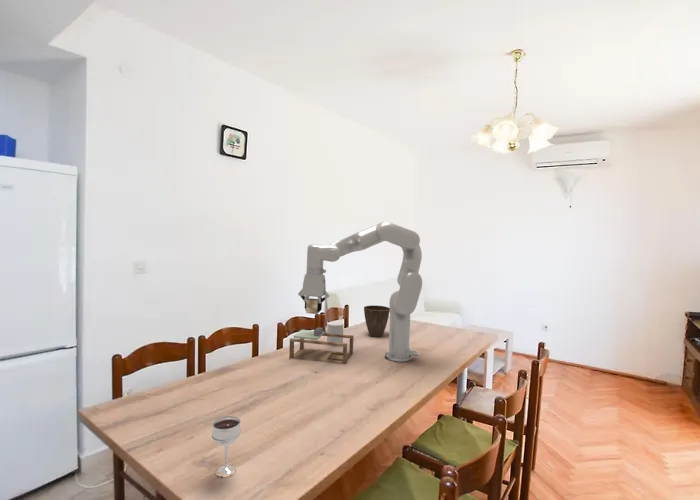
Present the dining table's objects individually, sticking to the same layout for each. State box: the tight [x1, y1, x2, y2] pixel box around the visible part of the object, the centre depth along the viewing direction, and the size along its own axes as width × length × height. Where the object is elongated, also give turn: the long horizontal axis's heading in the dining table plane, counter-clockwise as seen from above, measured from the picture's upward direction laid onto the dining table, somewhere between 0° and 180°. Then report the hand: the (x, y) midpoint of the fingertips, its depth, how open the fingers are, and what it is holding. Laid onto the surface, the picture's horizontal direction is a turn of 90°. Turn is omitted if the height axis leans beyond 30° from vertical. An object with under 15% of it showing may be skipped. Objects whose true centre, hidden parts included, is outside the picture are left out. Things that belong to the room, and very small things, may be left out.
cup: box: [326, 321, 344, 347], centre depth 193 cm, size 8×8×12 cm
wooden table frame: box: [288, 332, 355, 365], centre depth 174 cm, size 26×15×10 cm, turn 78°
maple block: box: [305, 297, 320, 315], centre depth 174 cm, size 5×5×6 cm
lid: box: [293, 327, 325, 341], centre depth 175 cm, size 11×11×4 cm
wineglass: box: [211, 415, 242, 474], centre depth 91 cm, size 7×7×12 cm
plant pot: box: [363, 304, 390, 338], centre depth 216 cm, size 15×15×16 cm
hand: (313, 310), depth 174 cm, fingers closed on maple block, 5 cm apart
